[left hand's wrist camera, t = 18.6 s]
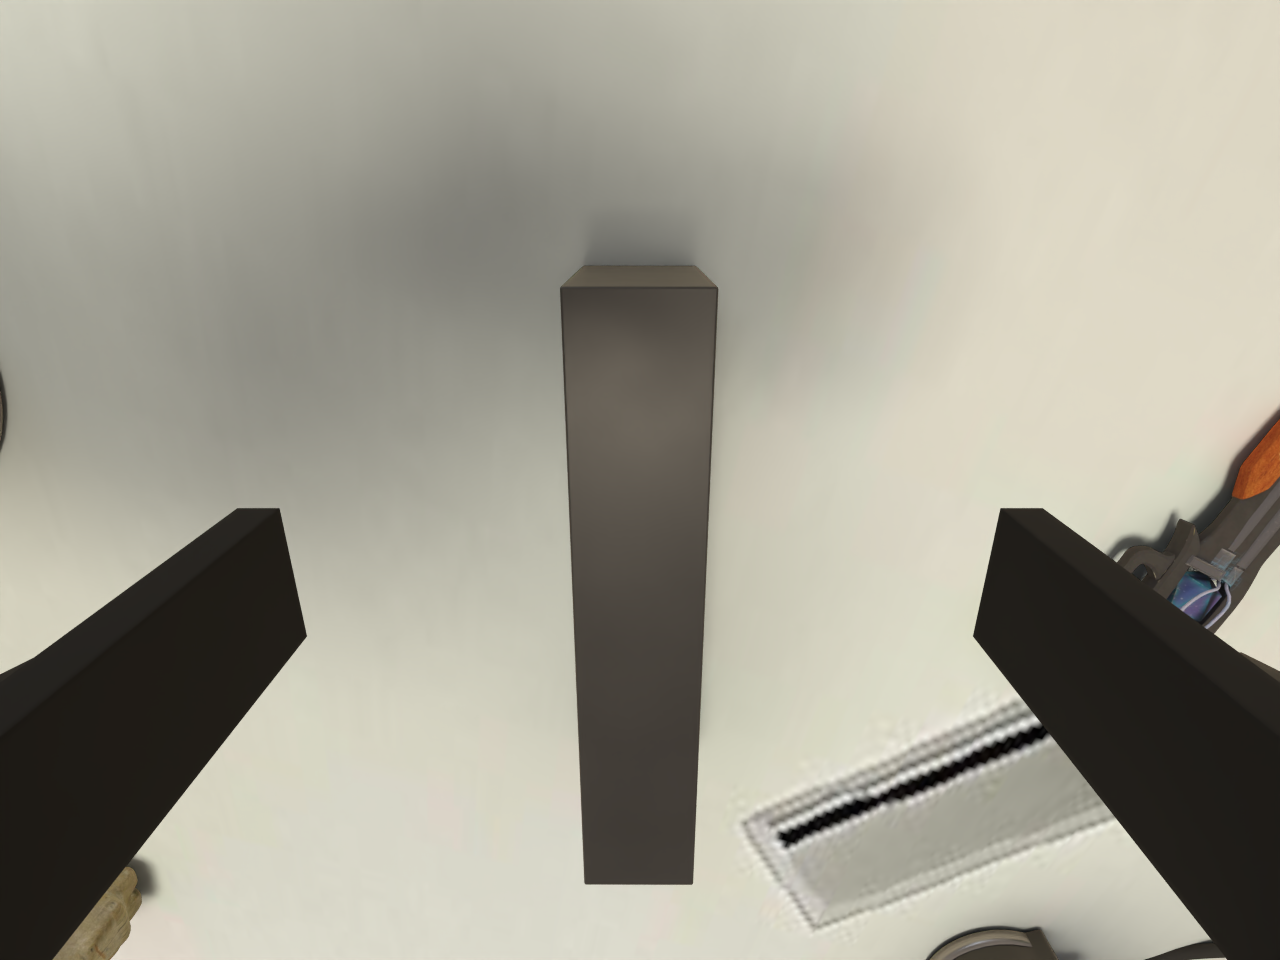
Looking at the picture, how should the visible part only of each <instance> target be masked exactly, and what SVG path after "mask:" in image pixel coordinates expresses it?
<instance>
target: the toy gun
mask: <svg viewBox="0 0 1280 960" xmlns="http://www.w3.org/2000/svg"><path fill="white" fill-rule="evenodd" d="M1279 545H1280V419H1279V420H1278V421H1277V423H1276V424H1275V425H1274V426H1273V427H1272V429H1271V430H1270V431H1269V432H1268V433H1267V435H1266V436H1265V437H1264V438H1263V439H1262V441H1261V442H1260V443H1259V444H1258V445H1257V447H1256V448H1255V449H1254V450H1253V451H1252V453H1251V454H1250V455H1249V456H1248V458H1247V459H1246V460H1245V461H1244V462H1243V464H1242V465H1241V467H1240V470H1239V473H1238V476H1237V479H1236V483H1235V486H1234V489H1233V492H1232V498H1231V500H1230V502H1229V503H1228V504H1227V505H1226V506H1225V508H1224V509H1223V510H1222V511H1221V513H1220V514H1219V515H1218V516H1217V517H1216V519H1215V520H1214V521H1213V522H1212V523H1211V524H1210V525H1209V526H1208V527H1207V528H1206V529H1205V530H1204V531H1202V532H1201V533H1200V534H1199V535H1198V532H1197V529H1196V527H1195V525H1194V524H1191V523H1189V522H1187V521H1185V520H1183V519H1180V520H1179V521H1178V523H1177V526H1176V529H1175V532H1174V534H1173V537H1172V539H1171V541H1170V542H1169V544H1168V546H1167V547H1166V549H1165V551H1164V552H1158V551H1156V550H1154V549H1153V548H1150V547H1148V546H1134V547H1131V548H1129V549H1128V550H1127V551H1126V552H1125V553H1124V554H1123V556H1122V557H1121V558H1120V560H1119V561H1118V562H1117V563H1118V564H1119V565H1120V566H1122V567H1123V568H1125V569H1126V570H1127V571H1129V572H1130V573H1131V574H1132V572H1133V571H1134V570H1135V569H1136V568H1137V567H1138V566H1139V565H1141V564H1144V565H1145V567H1146V569H1147V572H1148V573H1147V575H1146V576H1145V577H1144V578H1143V580H1142V582H1144V583H1145V584H1146V585H1148V586H1149V587H1150V588H1152V589H1153V590H1155V591H1156V592H1157V593H1159V594H1160V595H1161V596H1163V597H1164V598H1165V599H1167V600H1168V601H1170V602H1171V603H1172V604H1174V605H1175V606H1176V607H1178V608H1179V609H1180V610H1182V611H1183V612H1184V613H1186V614H1187V615H1189V616H1190V617H1191V618H1193V619H1194V620H1195V621H1197V622H1198V623H1199V624H1201V625H1202V626H1204V627H1205V628H1206V629H1208V630H1209V631H1210V632H1212V633H1213V634H1214V633H1215V632H1216V631H1217V630H1218V628H1219V627H1220V626H1221V625H1222V624H1223V622H1224V621H1225V620H1226V619H1227V618H1228V616H1229V615H1230V614H1231V613H1232V612H1233V611H1234V609H1235V608H1236V607H1237V605H1238V604H1239V603H1240V601H1241V600H1242V599H1243V597H1244V596H1245V594H1246V592H1247V591H1248V589H1249V588H1250V586H1251V584H1252V582H1253V581H1254V579H1255V577H1256V575H1257V573H1258V572H1259V570H1260V568H1261V566H1262V565H1263V563H1264V562H1265V561H1266V560H1267V559H1268V557H1269V556H1270V555H1271V554H1272V553H1273V552H1274V551H1275V549H1276V548H1277V547H1278V546H1279ZM1189 567H1192V568H1194V569H1196V570H1198V571H1187V570H1188V568H1189ZM1212 580H1217V587H1216V586H1215V584H1214V583H1213V581H1212ZM1220 582H1221V583H1220Z"/></svg>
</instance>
